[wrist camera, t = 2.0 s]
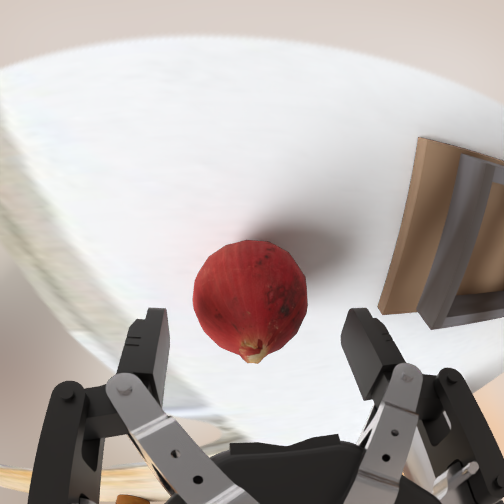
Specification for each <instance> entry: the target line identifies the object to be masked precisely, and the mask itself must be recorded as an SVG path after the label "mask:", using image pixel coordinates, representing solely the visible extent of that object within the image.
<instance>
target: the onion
mask: <svg viewBox="0 0 504 504" xmlns="http://www.w3.org/2000/svg"><path fill="white" fill-rule="evenodd" d="M307 306H308V303H307V286H306V279H305V276H304V274H303V273H302V271H301V270H300V268H299V267H298V265H297V264H296V262H295V261H294V259H293V258H292V256H291V255H290V254H289V252H287V251H285V250H283V249H282V248H280V247H278V246H276V245H274V244H272V243H271V242H266V241H252V240H245V241H241V242H237V243H233V244H229V245H225V246H224V247H222V248H221V249H219V250H218V251H217V252H215V253H214V254H212V255H211V256H209V257H208V259H207V260H206V262H205V263H204V265H203V266H202V268H201V269H200V271H199V272H198V275H197V277H196V279H195V283H194V291H193V307H194V311H195V313H196V316H197V318H198V320H199V323H200V325H201V327H202V329H203V330H204V332H205V333H206V334H207V335H208V336H209V337H210V338H211V339H212V340H213V341H214V342H215V343H216V344H217V345H218V346H219V347H221V348H223V349H225V350H228V351H230V352H233V353H235V354H238V355H240V356H241V357H242V359H243V360H244V361H246V362H247V363H256V364H258V363H259V362H261V360H262V359H263V358H264V357H265V356H267V355H268V354H270V353H273V352H275V351H277V350H279V349H281V348H282V347H283V346H284V345H285V344H286V343H287V342H288V341H289V340H291V339H292V338H293V337H294V336H295V335H296V334H297V332H298V330H299V328H300V326H301V324H302V321H303V319H304V317H305V315H306V312H307Z"/></svg>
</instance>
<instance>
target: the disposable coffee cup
mask: <svg viewBox="0 0 504 504" xmlns="http://www.w3.org/2000/svg"><path fill="white" fill-rule="evenodd" d="M116 504H150V502H149V501H147V500H145V499H142V498H139V497H135V496H130V495H118V497H117V500H116Z"/></svg>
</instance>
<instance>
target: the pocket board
mask: <svg viewBox="0 0 504 504" xmlns="http://www.w3.org/2000/svg"><path fill="white" fill-rule="evenodd" d="M377 307H378V309H379V310H380V312H381V313H382V315H389V314H401V313H412V312H418V313H419V314H420V315H421V317H422V318H423V320H424V321H425V322H426V324H427V325H428V326H429V328H430V329H431V330H433V329H440V328H447V327H453V326H459V325H465V324H471V323H476V322H481V321H487V320H492V319H497V318H502V317H504V161H502V160H499V159H496V158H493V157H490V156H487V155H484V154H481V153H477V152H474V151H471V150H467V149H464V148H460V147H457V146H453V145H449V144H445V143H441V142H438V141H434V140H429V139H425V138H421V137H418V142H417V149H416V155H415V161H414V166H413V172H412V177H411V182H410V187H409V192H408V197H407V201H406V206H405V210H404V215H403V219H402V223H401V227H400V231H399V235H398V239H397V243H396V247H395V250H394V254H393V258H392V261H391V265H390V268H389V271H388V275H387V278H386V281H385V285H384V288H383V291H382V294H381V297H380V300H379V303H378V306H377Z"/></svg>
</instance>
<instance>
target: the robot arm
mask: <svg viewBox="0 0 504 504" xmlns="http://www.w3.org/2000/svg"><path fill="white" fill-rule="evenodd" d="M341 345H342V348H343V350H344V353H345V355H346V358H347V360H348V363H349V365H350V367H351V370H352V372H353V375H354V377H355V380H356V382H357V385H358V387H359V390H360V392H361V395H362V398H363V400H364V401H365V400H371V399H373V401H374V405H373V406H372V409H371V411H370V413H369V416H368V418H367V421H366V423H365V425H364V428H363V430H362V432H361V435H360V437H359V439H358V441H357V442H356V444H353V443H350V442H345V441H340V439H339V436H338V434H334V435H327V436H320V437H313V438H310V439H307V440H305V441H302V442H299V443H296V444H293V445H290V446H279V445H272V444H265V443H259V442H254V443H230V448H229V450H228V451H224V452H221V453H218V454H216V455H214V456H212V457H210V458H209V457H208V456H207V455H206V454H205V453H204V452H203V451H202V449H201V448H200V447H199V446H198V445H197V444H196V443H195V442H194V441H193V440H192V438H191V437H190V436H189V435H188V434H187V433H186V431H185V430H184V429H183V428H182V427H181V425H180V424H179V423H178V422H177V421H176V420H175V419H174V418H173V417H172V416H168V415H167V414H166V413H165V412H164V411H163V410H162V404H163V395H164V386H165V378H166V370H167V363H168V355H169V348H170V335H169V327H168V318H167V310H166V308H148V311H147V315H146V319H145V320H143V319H136V320H135V322H134V323H133V324H132V325H131V326H130V327H129V331H128V334H127V338H126V341H125V346H124V348H123V351H122V355H121V359H120V362H119V366H118V370H117V373H116V375H114V376H113V377H111V378H110V379H109V380H108V382H107V384H105V385H102V386H99V387H92V388H86V389H84V388H83V387H82V385H81V384H79V383H78V382H75V381H65V382H62V383H60V384H58V385H57V386H56V387H55V388H54V390H53V392H52V394H51V398H50V401H49V405H48V409H47V412H46V416H45V419H44V423H43V427H42V431H41V435H40V439H39V444H38V448H37V453H36V457H35V462H34V467H33V472H32V478H31V484H30V490H29V496H28V504H99V495H100V482H101V470H102V459H103V450H104V442H105V438H106V437H112V436H118V435H124V434H126V435H127V436H128V438H129V439H130V441H131V442H132V443H133V445H134V447H135V448H136V449H137V451H138V452H139V454H140V455H141V456H142V458H143V459H144V461H145V462H146V464H147V465H148V466H149V468H150V469H151V471H152V472H153V474H154V475H155V477H156V478H157V479H158V481H159V482H160V483H161V485H162V486H163V487H164V488H165V490H166V491H167V492H168V493H169V495H170V496H171V497H170V498H169V499H168V501H167V502H166V503H165V504H504V503H503V501H502V500H501V499H502V498H503V497H504V458H503V456H502V453H501V451H500V449H499V447H498V445H497V442H496V440H495V438H494V436H493V434H492V432H491V430H490V428H489V426H488V424H487V421H486V419H485V418H484V415H483V414H482V412H481V410H480V408H479V406H478V404H477V402H476V400H475V398H474V396H473V394H472V393H471V391H470V389H469V387H468V385H467V383H466V382H465V380H464V378H463V376H462V375H461V374H460V373H459V372H458V371H457V370H455V369H452V368H444V369H442V370H441V371H440V372H439V374H438V375H437V376H435V375H425V374H422V373H421V371H420V370H419V369H418V368H417V367H416V366H414V365H412V364H409V363H406V362H405V360H404V358H403V357H402V355H401V353H400V351H399V349H398V348H397V346H396V344H395V342H394V341H393V339H392V337H391V335H389V332H388V330H387V329H386V327H385V325H384V324H383V323H382V322H380V321H379V320H378V319H377V318H373V317H372V316H371V314H370V312H369V310H368V309H367V308H351V309H350V310H349V311H348V314H347V317H346V321H345V324H344V327H343V330H342V333H341ZM402 472H403V473H404V475H405V476H403V475H402Z"/></svg>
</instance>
